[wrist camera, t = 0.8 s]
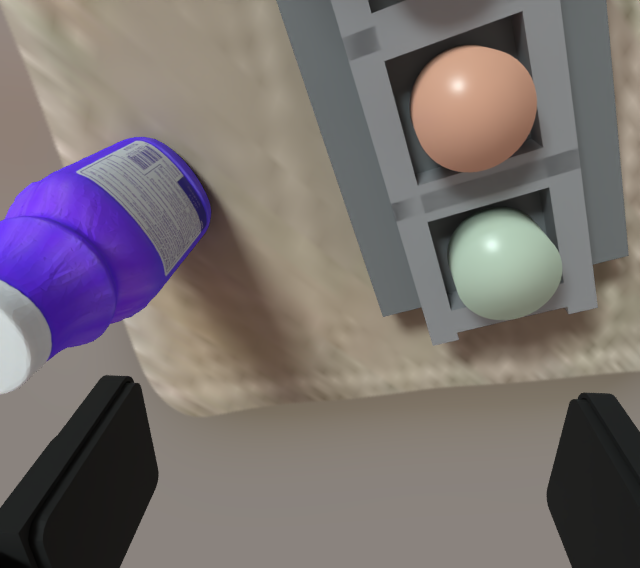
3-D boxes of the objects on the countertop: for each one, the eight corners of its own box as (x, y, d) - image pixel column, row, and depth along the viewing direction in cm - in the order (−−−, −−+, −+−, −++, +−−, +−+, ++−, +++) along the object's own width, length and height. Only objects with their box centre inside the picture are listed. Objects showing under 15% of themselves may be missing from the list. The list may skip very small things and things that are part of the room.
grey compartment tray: (552, -272, 21) (601, -348, 17) (608, 256, 31) (647, 296, 27) (243, -124, 24) (216, -156, 20) (388, 312, 34) (391, 355, 30)
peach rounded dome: (507, 27, 22) (526, 28, 20) (525, 137, 25) (545, 152, 22) (397, 67, 24) (401, 73, 21) (423, 169, 26) (430, 186, 23)
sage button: (535, 194, 26) (554, 215, 23) (549, 278, 28) (568, 306, 25) (437, 222, 27) (445, 245, 24) (457, 301, 29) (467, 330, 26)
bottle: (89, 166, 31) (-176, 309, 16) (154, 112, 30) (-74, 216, 14) (168, 256, 34) (4, 455, 19) (233, 212, 32) (110, 392, 17)
